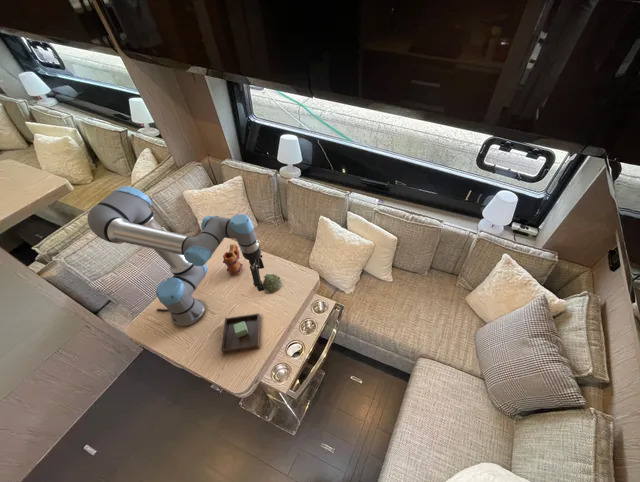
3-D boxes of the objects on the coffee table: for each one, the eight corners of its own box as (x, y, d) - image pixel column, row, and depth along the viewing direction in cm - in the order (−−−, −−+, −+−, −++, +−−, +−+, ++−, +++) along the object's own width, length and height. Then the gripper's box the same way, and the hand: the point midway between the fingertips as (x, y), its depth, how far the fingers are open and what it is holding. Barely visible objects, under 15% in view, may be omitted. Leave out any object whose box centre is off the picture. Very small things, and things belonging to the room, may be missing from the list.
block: (238, 338, 135) (235, 333, 131) (236, 329, 138) (233, 324, 134) (248, 334, 137) (246, 329, 133) (246, 325, 140) (243, 320, 136)
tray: (223, 353, 131) (221, 351, 128) (227, 321, 142) (225, 318, 139) (259, 348, 133) (257, 345, 130) (260, 316, 144) (259, 313, 142)
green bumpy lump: (270, 293, 151) (261, 277, 149) (264, 294, 157) (256, 279, 155) (285, 285, 158) (277, 269, 156) (279, 286, 163) (271, 271, 161)
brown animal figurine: (240, 277, 160) (233, 260, 149) (226, 277, 160) (217, 260, 149) (247, 259, 170) (240, 241, 158) (234, 258, 169) (226, 241, 158)
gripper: (259, 269, 107) (270, 299, 123) (259, 226, 123) (268, 258, 139) (239, 271, 106) (253, 301, 122) (241, 228, 121) (253, 260, 138)
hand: (261, 278), depth 131 cm, fingers open, 13 cm apart
